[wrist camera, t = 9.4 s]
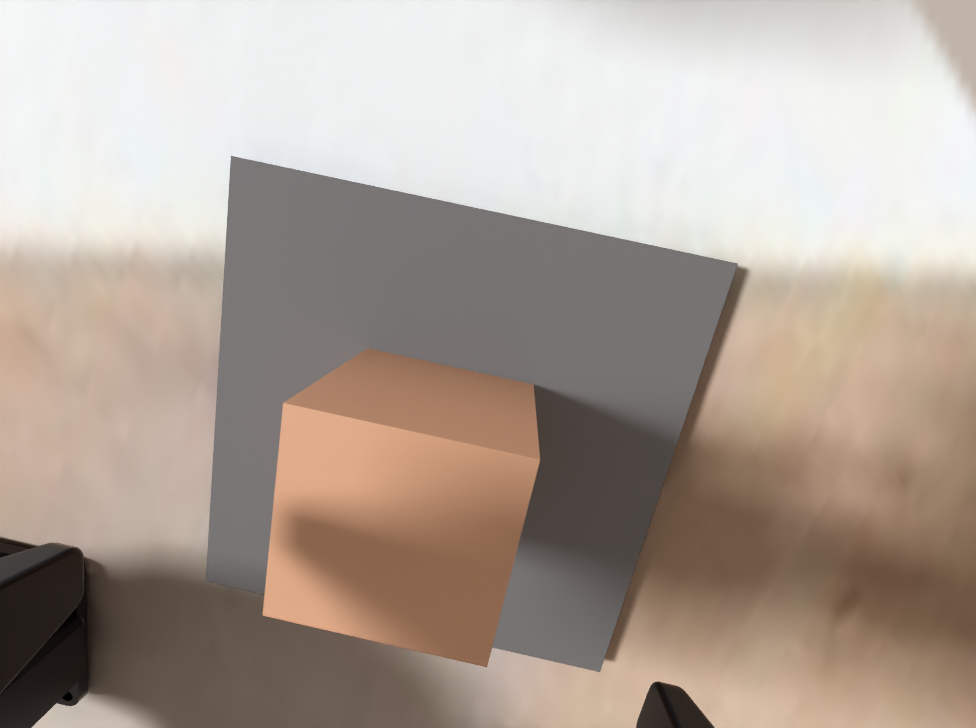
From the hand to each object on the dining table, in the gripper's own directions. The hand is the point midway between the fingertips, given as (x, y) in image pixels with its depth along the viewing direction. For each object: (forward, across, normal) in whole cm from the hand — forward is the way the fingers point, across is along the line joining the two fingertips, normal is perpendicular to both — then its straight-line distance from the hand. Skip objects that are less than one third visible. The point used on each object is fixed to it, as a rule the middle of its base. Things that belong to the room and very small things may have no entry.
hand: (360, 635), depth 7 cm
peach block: (+7, 0, 0) cm, 7 cm away
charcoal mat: (+8, 0, 0) cm, 8 cm away
